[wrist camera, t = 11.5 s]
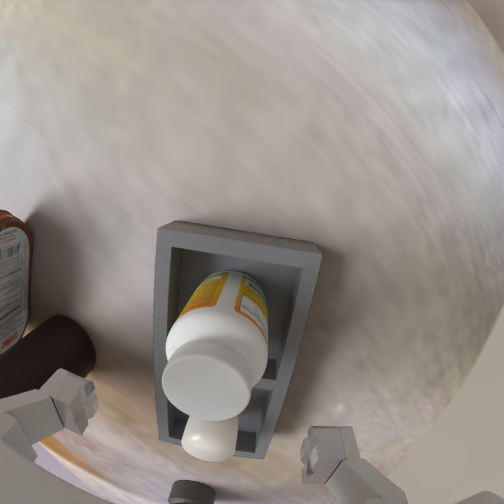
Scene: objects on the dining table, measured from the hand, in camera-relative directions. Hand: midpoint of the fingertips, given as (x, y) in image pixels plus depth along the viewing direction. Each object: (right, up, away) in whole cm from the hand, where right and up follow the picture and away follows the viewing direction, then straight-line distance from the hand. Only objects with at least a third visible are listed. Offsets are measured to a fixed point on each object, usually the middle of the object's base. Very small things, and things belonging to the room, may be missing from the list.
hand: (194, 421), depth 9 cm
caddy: (0, -2, +14) cm, 14 cm away
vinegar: (-16, -3, +15) cm, 23 cm away
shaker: (-1, -7, +14) cm, 16 cm away
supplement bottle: (+1, +2, +12) cm, 12 cm away
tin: (-21, +3, +14) cm, 26 cm away
